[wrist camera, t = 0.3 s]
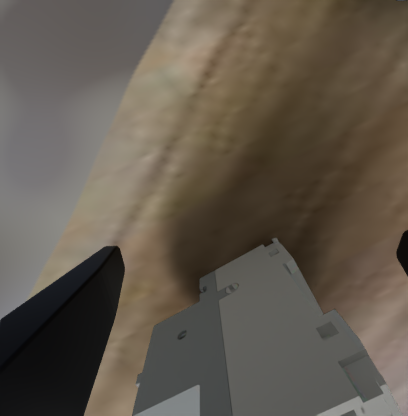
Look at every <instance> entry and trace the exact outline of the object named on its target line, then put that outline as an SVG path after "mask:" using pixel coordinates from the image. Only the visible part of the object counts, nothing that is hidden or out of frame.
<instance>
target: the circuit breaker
mask: <svg viewBox="0 0 408 416" xmlns="http://www.w3.org/2000/svg"><path fill="white" fill-rule="evenodd" d="M272 241H273V243H272V244H270V245H268V246H267V247H264V245H263V244H262V245H260V246H259V247H257V248H255V249H253V250H251V251H249V252H248V253H246V254H244V255H242V256H240V257H238V258H237V259H235V260H233V261H231V262H229V263H227V264H225V265H224V266H222V267H220V268H218V269H216V270H214V271H213V272H211V273H209V274H207V275H205V276H203V277H202V278H200V291H201V292H202V293H201V294H200V301H199V302H198V303H196V304H194V305H192V306H190V307H188V308H187V309H185V310H183V311H181V312H179V313H177V314H175V315H173V316H172V317H170V318H168V319H166V320H164V321H162V322H160V323H159V324H157V325H155V326H154V328H153V332H152V336H151V340H150V344H149V348H148V352H147V356H146V360H145V364H144V368H143V372H142V373H141V374H139V375H138V377H137V381H136V386H137V387H138V392H137V396H136V400H135V405H134V409H133V414H132V416H403V415H402V413H401V411H400V409H399V407H398V405H397V403H396V401H395V399H394V397H393V395H392V393H391V391H390V390H389V388H388V386H387V384H386V382H385V380H384V379H383V377H382V375H381V374H380V373H379V372H378V370H377V368H376V367H375V365H374V363H373V362H372V360H371V358H370V357H369V355H368V353H367V351H366V349H365V348H364V346H363V344H362V343H361V341H360V339H359V338H358V337H357V336H356V334H355V333H354V332H353V331H352V329H351V328H350V327H349V326H348V325H347V323H346V322H345V321H344V320H343V319H342V317H341V316H340V315H339V314H338V312H337V311H336V310H335V309H334V310H332V311H330V312H328V313H326V314H323V312H322V310H321V308H320V307H319V305H318V303H317V301H316V299H315V297H314V296H313V294H312V292H311V290H310V288H309V286H308V285H307V283H306V281H305V279H304V277H303V275H302V274H301V272H300V270H299V268H298V266H297V264H296V263H295V261H294V259H293V258H292V256H291V255H290V254H289V253H288V251H287V250H286V249H285V248H284V247H283V245H282V244H280V243H279V241H278V240H277V238H276V237H275V238H273V239H272ZM278 252H279V253H278ZM276 253H277V254H276Z"/></svg>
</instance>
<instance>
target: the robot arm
mask: <svg viewBox="0 0 408 416" xmlns="http://www.w3.org/2000/svg"><path fill="white" fill-rule="evenodd" d="M396 254H397V259H398V261H399V262H400V264H401V266H402V267H403V269H404V271H405V272H406V274H407V276H408V230H407V231H405V232H404V233H403V235H402V237H401V240H400V243H399V246H398V249H397V253H396ZM124 272H125V266H124V262H123V258H122V255H121V251H120V248H119V247H118V246H105V247H104V248H102V249H101V250H99V251H98V252H96V253H95V254H93V255H92V256H91V257H89V258H88V259H86V260H85V261H83V262H82V263H81V264H79V265H78V266H76V267H75V268H73V269H72V270H71V271H69V272H68V273H66V274H65V275H63V276H62V277H61V278H59V279H58V280H56V281H55V282H53V283H52V284H50V285H49V286H48V287H46V288H45V289H43V290H42V291H40V292H39V293H38V294H36V295H35V296H33V297H32V298H30V299H29V300H28V301H26V302H25V303H23V304H22V305H21V306H19V307H17V308H16V309H15V310H13V311H12V312H10V313H9V314H8V315H6V316H5V317H3V318H2V319H1V320H0V416H84V413H85V410H86V407H87V404H88V401H89V397H90V394H91V391H92V388H93V385H94V382H95V379H96V376H97V373H98V370H99V366H100V363H101V360H102V357H103V354H104V351H105V348H106V345H107V342H108V339H109V335H110V332H111V329H112V326H113V323H114V320H115V316H116V312H117V308H118V303H119V298H120V293H121V288H122V283H123V278H124Z"/></svg>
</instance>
